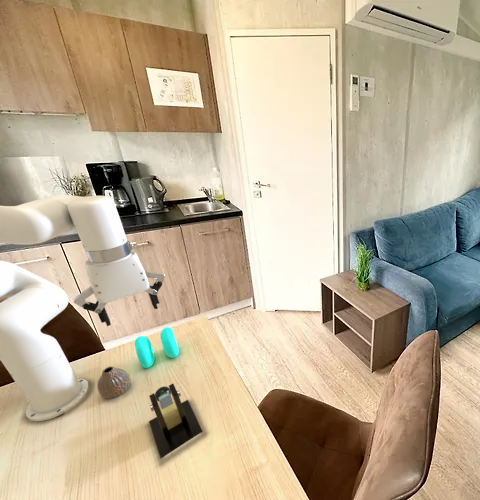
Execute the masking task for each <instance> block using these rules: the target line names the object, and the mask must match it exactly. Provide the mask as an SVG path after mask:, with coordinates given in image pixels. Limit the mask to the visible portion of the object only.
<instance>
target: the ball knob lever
mask: <svg viewBox="0 0 480 500" xmlns="http://www.w3.org/2000/svg"><path fill="white" fill-rule="evenodd" d="M154 394H155V397H156V399H157V402H158V403H159V405H160V406H161V408H162V409H164V408H166V407H168V406H170V405H171V404H173V402H174V400H173V397H172V394H171V391H170V388H169V386H161V387H159V388H157V389H156V390H155V393H154Z"/></svg>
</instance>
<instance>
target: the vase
mask: <svg viewBox="0 0 480 500" xmlns="http://www.w3.org/2000/svg"><path fill="white" fill-rule="evenodd" d="M96 387H97V391H98V394H99V395H100V396H101V397H102V398H104V399H108V400H112V399H115V398H118V397H120V396H122V395H123V394H125V393H126V392H128V390H129V389H130V387H131V378H130V375H129V373H128V372H127V371H126V370H124V369H122V368H117V367H114V366H107V367H105V368H104V369H103V370H102V372H101V375H100V377H99V379H98V380H97V385H96Z"/></svg>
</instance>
